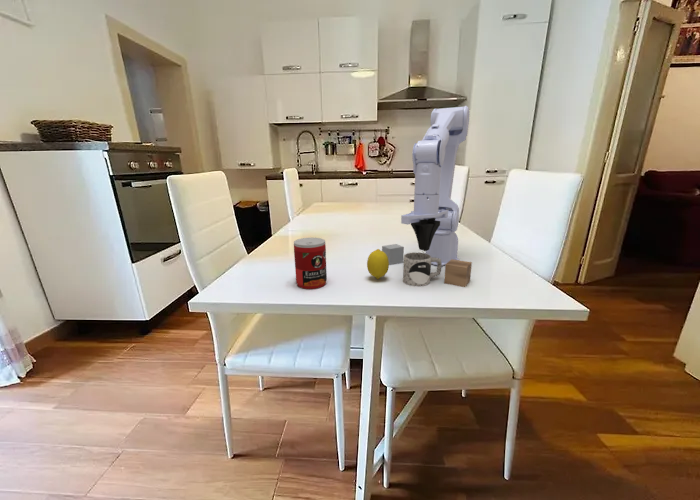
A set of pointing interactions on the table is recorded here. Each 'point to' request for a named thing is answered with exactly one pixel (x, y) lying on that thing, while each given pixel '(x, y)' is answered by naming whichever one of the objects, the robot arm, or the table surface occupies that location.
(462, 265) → the walnut block
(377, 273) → the lemon
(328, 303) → the table surface
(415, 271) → the mug
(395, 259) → the grey block
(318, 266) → the canned food
